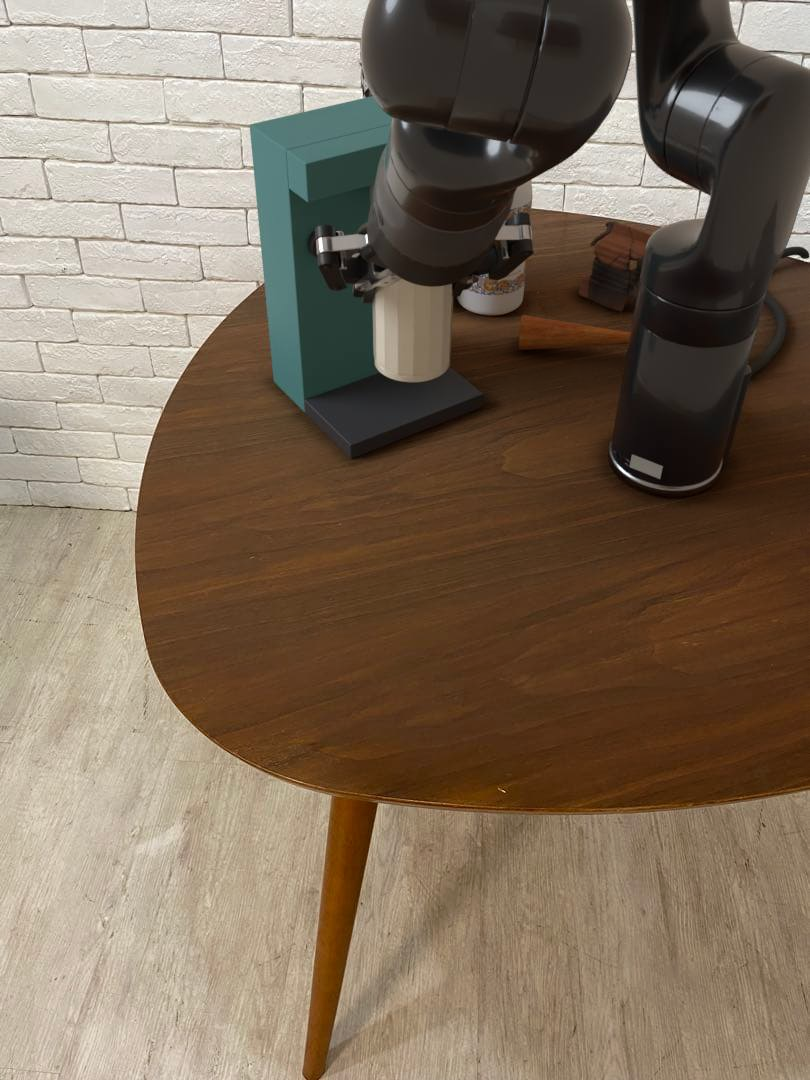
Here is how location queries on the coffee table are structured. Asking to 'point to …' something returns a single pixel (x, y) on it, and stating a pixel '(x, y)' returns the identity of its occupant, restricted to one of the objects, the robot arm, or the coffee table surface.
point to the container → (412, 330)
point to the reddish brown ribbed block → (615, 266)
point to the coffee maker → (303, 295)
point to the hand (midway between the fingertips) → (409, 286)
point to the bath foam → (508, 290)
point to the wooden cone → (565, 334)
